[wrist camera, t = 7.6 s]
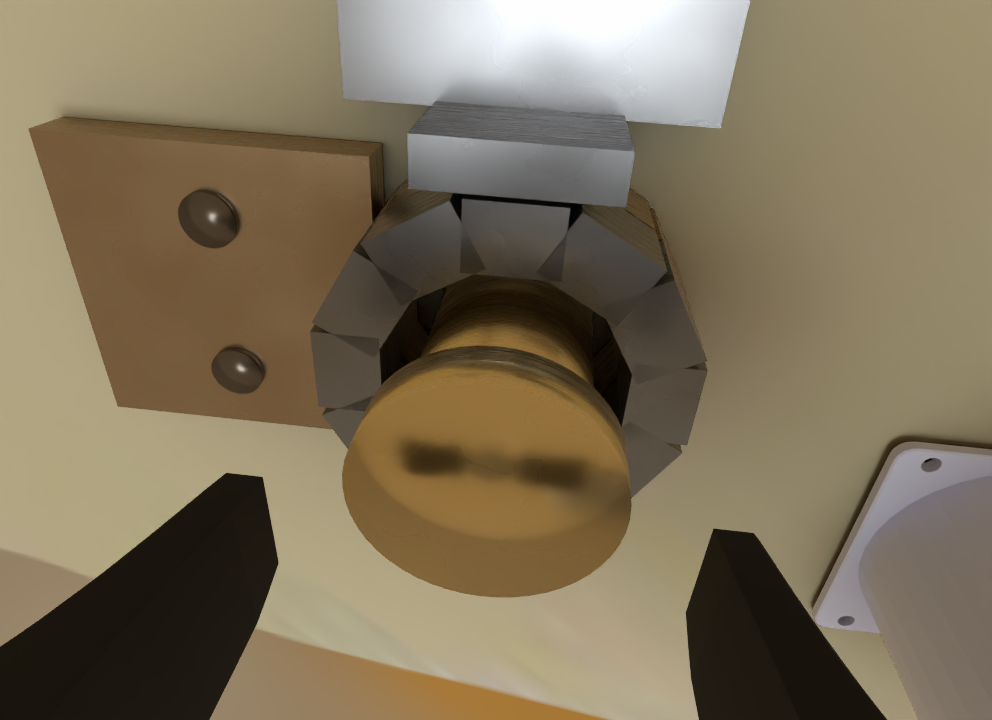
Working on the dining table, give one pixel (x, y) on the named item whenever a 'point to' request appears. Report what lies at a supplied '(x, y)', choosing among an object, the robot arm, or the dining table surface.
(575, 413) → the pin
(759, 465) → the dining table surface
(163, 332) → the brown riveted plate
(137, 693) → the robot arm
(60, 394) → the dining table surface
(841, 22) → the dining table surface
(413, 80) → the dark piece
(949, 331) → the dining table surface
